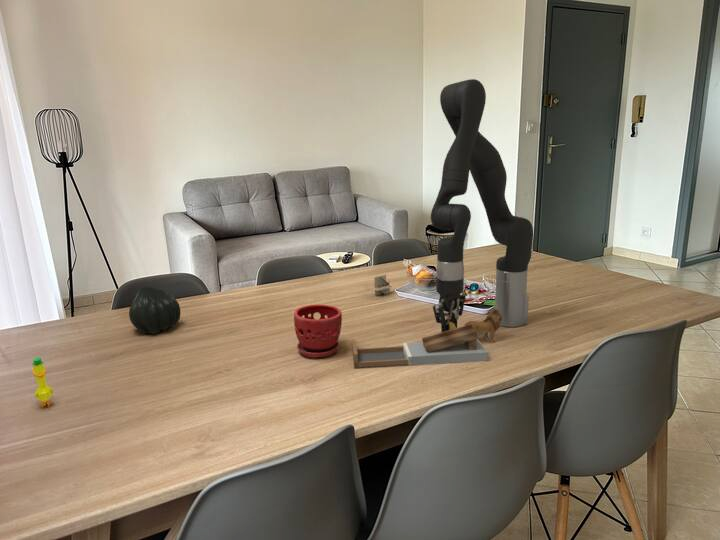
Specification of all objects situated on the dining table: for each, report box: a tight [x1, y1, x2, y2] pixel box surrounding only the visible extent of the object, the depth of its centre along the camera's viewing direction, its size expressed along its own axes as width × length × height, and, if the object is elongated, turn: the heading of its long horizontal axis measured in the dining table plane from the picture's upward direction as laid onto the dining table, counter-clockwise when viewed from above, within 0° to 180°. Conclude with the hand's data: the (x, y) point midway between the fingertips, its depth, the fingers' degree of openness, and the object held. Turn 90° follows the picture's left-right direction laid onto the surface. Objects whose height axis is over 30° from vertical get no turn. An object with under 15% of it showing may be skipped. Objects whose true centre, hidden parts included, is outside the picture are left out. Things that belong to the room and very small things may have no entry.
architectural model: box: [372, 274, 393, 296], centre depth 199 cm, size 3×7×8 cm, turn 129°
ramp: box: [421, 324, 480, 353], centre depth 145 cm, size 14×6×5 cm, turn 94°
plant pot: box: [293, 304, 343, 358], centre depth 151 cm, size 13×13×12 cm
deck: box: [402, 338, 488, 366], centre depth 146 cm, size 21×9×2 cm, turn 94°
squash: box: [128, 286, 181, 334], centre depth 172 cm, size 14×15×15 cm
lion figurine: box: [463, 307, 503, 343], centre depth 154 cm, size 15×5×9 cm, turn 116°
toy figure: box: [32, 357, 54, 407], centre depth 126 cm, size 7×4×12 cm, turn 38°
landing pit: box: [351, 340, 409, 370], centre depth 145 cm, size 14×9×4 cm, turn 94°
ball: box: [449, 322, 456, 330], centre depth 154 cm, size 4×4×4 cm
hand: (449, 333), depth 155 cm, fingers closed on ball, 3 cm apart
